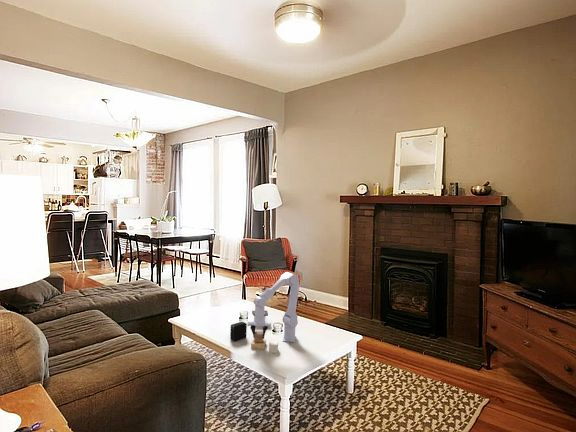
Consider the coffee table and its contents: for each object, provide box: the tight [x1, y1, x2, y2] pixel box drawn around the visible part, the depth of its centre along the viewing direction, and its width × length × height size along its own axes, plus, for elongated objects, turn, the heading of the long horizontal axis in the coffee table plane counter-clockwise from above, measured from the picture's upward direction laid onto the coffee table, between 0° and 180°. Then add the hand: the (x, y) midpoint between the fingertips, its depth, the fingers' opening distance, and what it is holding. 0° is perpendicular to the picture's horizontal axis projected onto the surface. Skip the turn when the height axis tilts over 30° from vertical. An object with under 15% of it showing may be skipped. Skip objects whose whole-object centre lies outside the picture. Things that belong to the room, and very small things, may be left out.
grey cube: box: [268, 340, 279, 354], centre depth 220 cm, size 5×5×5 cm
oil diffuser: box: [251, 309, 269, 322], centre depth 266 cm, size 26×24×17 cm
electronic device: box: [229, 321, 248, 342], centre depth 236 cm, size 4×10×10 cm, turn 135°
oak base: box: [250, 338, 267, 350], centre depth 226 cm, size 8×8×3 cm
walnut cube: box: [253, 330, 263, 343], centre depth 226 cm, size 5×5×5 cm
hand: (258, 337), depth 226 cm, fingers open, 5 cm apart
